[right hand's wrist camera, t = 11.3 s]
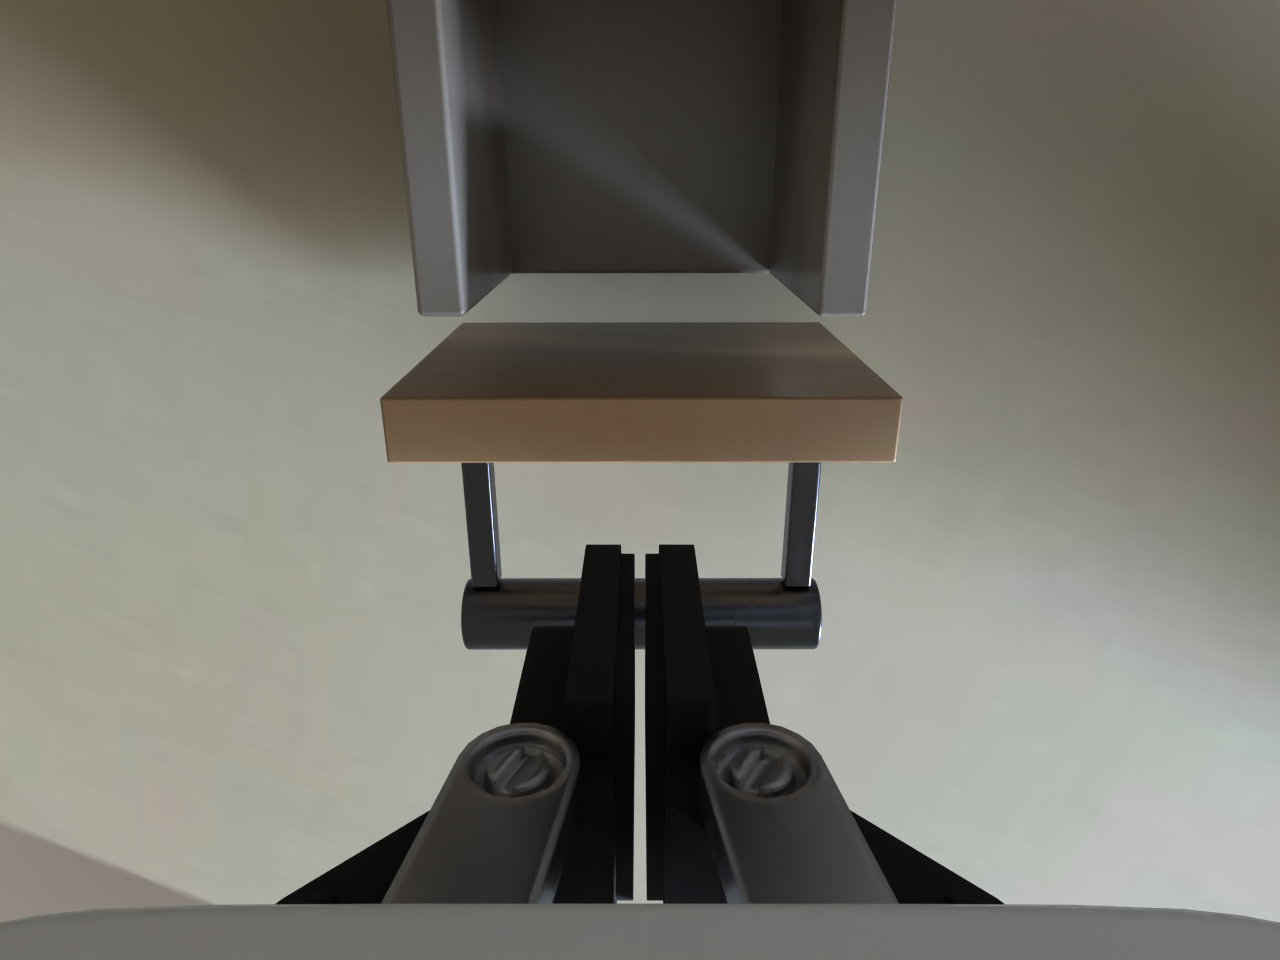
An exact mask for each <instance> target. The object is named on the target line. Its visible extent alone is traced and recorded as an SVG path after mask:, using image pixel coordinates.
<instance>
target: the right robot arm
mask: <svg viewBox="0 0 1280 960" xmlns="http://www.w3.org/2000/svg"><path fill="white" fill-rule="evenodd" d="M634 756H635V564H634V554H621V545H586V549H585V556H584V563H583V570H582V577H581V584H580V591H579V598H578V606H577V613H576V620H575V626H534V627H533V629H532V632H531V636H530V640H529V644H528V649H527V653H526V657H525V662H524V666H523V670H522V674H521V679H520V683H519V687H518V692H517V696H516V700H515V705H514V709H513V713H512V718H511V722H510V724H509V725H504V726H499V727H496V728H494V729H492V730H489V731H487V732H485V733H482V734H481V735H479V736H478V737H477V738H475V739H474V740H473V741H471V742H470V743H469V744H468V745H467V746H466V747H465V748H464V750H463V751H462V752H461V754H460V755H459V756H458V758H457V760H456V762H455V764H454V766H453V768H452V770H451V772H450V773H449V775H448V777H447V779H446V781H445V783H444V785H443V787H442V789H441V791H440V793H439V794H438V796H437V798H436V800H435V802H434V804H433V806H432V808H431V810H429V811H428V812H426V813H424V814H423V815H421V816H419V817H418V818H416V819H414V820H413V821H411V822H409V823H408V824H406V825H404V826H403V827H401V828H400V829H398V830H396V831H395V832H393V833H391V834H390V835H388V836H386V837H385V838H383V839H381V840H380V841H378V842H376V843H375V844H373V845H371V846H370V847H368V848H366V849H365V850H363V851H361V852H360V853H358V854H356V855H355V856H353V857H351V858H350V859H348V860H346V861H345V862H343V863H341V864H340V865H338V866H336V867H335V868H333V869H331V870H330V871H328V872H326V873H325V874H323V875H321V876H320V877H318V878H316V879H315V880H313V881H311V882H310V883H308V884H306V885H305V886H303V887H301V888H300V889H298V890H296V891H295V892H293V893H291V894H290V895H288V896H286V897H285V898H283V899H282V900H280V901H279V902H278V903H276V904H272V905H191V906H164V907H138V908H112V909H92V910H83V911H74V912H65V913H56V914H47V915H38V916H32V917H27V918H22V919H17V920H12V921H7V922H2V923H0V960H1280V923H1278V922H1273V921H1268V920H1263V919H1258V918H1253V917H1248V916H1242V915H1233V914H1224V913H1215V912H1206V911H1197V910H1188V909H1169V908H1142V907H1116V906H1089V905H1008V904H1004V903H1002V902H1001V901H1000V900H998V899H997V898H995V897H994V896H992V895H990V894H989V893H987V892H985V891H984V890H982V889H980V888H979V887H977V886H975V885H974V884H972V883H970V882H969V881H967V880H965V879H964V878H962V877H960V876H959V875H957V874H955V873H954V872H952V871H950V870H949V869H947V868H945V867H944V866H942V865H940V864H939V863H937V862H935V861H934V860H932V859H930V858H929V857H927V856H925V855H924V854H922V853H920V852H919V851H917V850H915V849H914V848H912V847H910V846H909V845H907V844H905V843H904V842H902V841H900V840H899V839H897V838H895V837H894V836H892V835H890V834H889V833H887V832H885V831H884V830H882V829H880V828H879V827H877V826H876V825H874V824H872V823H871V822H869V821H867V820H866V819H864V818H862V817H861V816H859V815H857V814H856V813H854V812H852V811H851V810H849V808H848V806H847V804H846V802H845V800H844V798H843V796H842V794H841V793H840V791H839V789H838V787H837V785H836V783H835V781H834V779H833V777H832V775H831V773H830V772H829V770H828V768H827V766H826V764H825V762H824V760H823V758H822V756H821V755H820V754H819V752H818V751H817V750H816V748H815V747H814V746H813V745H812V744H811V743H810V742H809V741H807V740H806V739H805V738H803V737H802V736H801V735H799V734H798V733H795V732H793V731H791V730H788V729H786V728H784V727H781V726H776V725H771V724H770V722H769V718H768V713H767V709H766V705H765V700H764V696H763V692H762V687H761V683H760V679H759V674H758V670H757V666H756V662H755V657H754V653H753V649H752V644H751V640H750V636H749V632H748V629H747V627H746V626H705V620H704V613H703V606H702V598H701V591H700V584H699V577H698V570H697V563H696V556H695V549H694V545H659V554H646V564H645V756H646V864H647V900H663V904H617V900H633V864H634Z"/></svg>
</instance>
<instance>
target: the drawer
mask: <svg viewBox="0 0 1280 960" xmlns="http://www.w3.org/2000/svg"><path fill="white" fill-rule="evenodd" d="M896 3H897V0H387V8H388V18H389V28H390V38H391V48H392V58H393V68H394V78H395V88H396V98H397V108H398V117H399V127H400V137H401V147H402V157H403V167H404V177H405V187H406V197H407V207H408V217H409V227H410V236H411V246H412V256H413V266H414V276H415V286H416V296H417V306H418V311H419V314H420V315H423V316H462V315H464V314H465V313H467V312H468V311H469V310H470V309H471V308H472V307H473V306H475V305H476V304H477V303H478V302H479V301H480V300H481V299H483V298H484V297H485V296H486V295H487V294H488V293H489V292H491V291H492V290H493V289H494V288H495V287H496V286H497V285H499V284H500V283H501V282H502V281H503V280H504V279H505V278H507V277H508V276H509V275H510V274H511V273H771V274H772V275H773V276H774V277H775V278H776V279H777V280H779V281H780V282H781V283H782V284H783V285H784V286H786V287H787V288H788V289H789V290H790V291H791V292H793V293H794V294H795V295H796V296H797V297H798V298H800V299H801V300H802V301H803V302H804V303H805V304H807V305H808V306H809V307H810V308H811V309H812V310H814V311H815V312H816V313H817V314H818V315H820V316H862V315H864V314H865V311H866V301H867V291H868V281H869V271H870V261H871V251H872V242H873V232H874V222H875V212H876V202H877V192H878V182H879V172H880V162H881V152H882V142H883V132H884V122H885V112H886V102H887V92H888V82H889V72H890V62H891V52H892V43H893V33H894V23H895V13H896ZM380 402H381V410H382V418H383V426H384V434H385V442H386V451H387V459H388V462H390V463H462V475H463V486H464V497H465V509H466V520H467V532H468V543H469V555H470V566H471V578H472V579H469V580H468V581H467V583H466V586H465V589H464V594H463V600H462V610H461V628H462V637H463V641H464V645H465V647H466V648H467V649H528V644H529V640H530V636H531V632H532V629H533V627H534V626H575V620H576V613H577V606H578V598H579V591H580V584H581V578H501V576H502V573H501V559H500V545H499V531H498V517H497V503H496V489H495V475H494V463H627V462H789V471H788V485H787V499H786V513H785V527H784V541H783V556H782V570H781V576H782V578H699V584H700V591H701V598H702V606H703V613H704V620H705V626H746V627H747V629H748V632H749V636H750V640H751V644H752V649H815V648H817V646H818V644H819V641H820V636H821V627H822V612H821V600H820V594H819V589H818V586H817V584H816V581H815V580H814V579H812V578H811V575H812V564H813V552H814V541H815V529H816V518H817V506H818V494H819V483H820V471H821V462H895V460H896V452H897V444H898V436H899V428H900V420H901V411H902V403H903V398H902V397H901V396H900V395H899V394H898V393H897V392H896V391H895V390H894V389H893V388H891V387H890V386H889V385H888V384H887V383H886V382H885V381H884V380H883V379H881V378H880V377H879V376H878V375H877V374H876V373H875V372H874V371H873V370H871V369H870V368H869V367H868V366H867V365H866V364H865V363H864V362H863V361H861V360H860V359H859V358H858V357H857V356H856V355H855V354H854V353H853V352H851V351H850V350H849V349H848V348H847V347H846V346H845V345H844V344H843V343H841V342H840V341H839V340H838V339H837V338H836V337H835V336H834V335H833V334H831V333H830V332H829V331H828V330H827V329H826V328H825V327H824V326H823V325H821V324H820V323H819V322H785V323H462V324H461V325H460V326H459V327H458V328H457V329H456V330H455V331H453V332H452V333H451V334H450V335H449V336H448V337H447V338H446V339H445V340H444V341H443V342H441V343H440V344H439V345H438V346H437V347H436V348H435V349H434V350H433V351H432V352H430V353H429V354H428V355H427V356H426V357H425V358H424V359H423V360H422V361H421V362H420V363H418V364H417V365H416V366H415V367H414V368H413V369H412V370H411V371H410V372H409V373H408V374H406V375H405V376H404V377H403V378H402V379H401V380H400V381H399V382H398V383H397V384H395V385H394V386H393V387H392V388H391V389H390V390H389V391H388V392H387V393H386V394H385V395H383V396H382V397H381V399H380ZM635 649H645V578H635Z"/></svg>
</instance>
